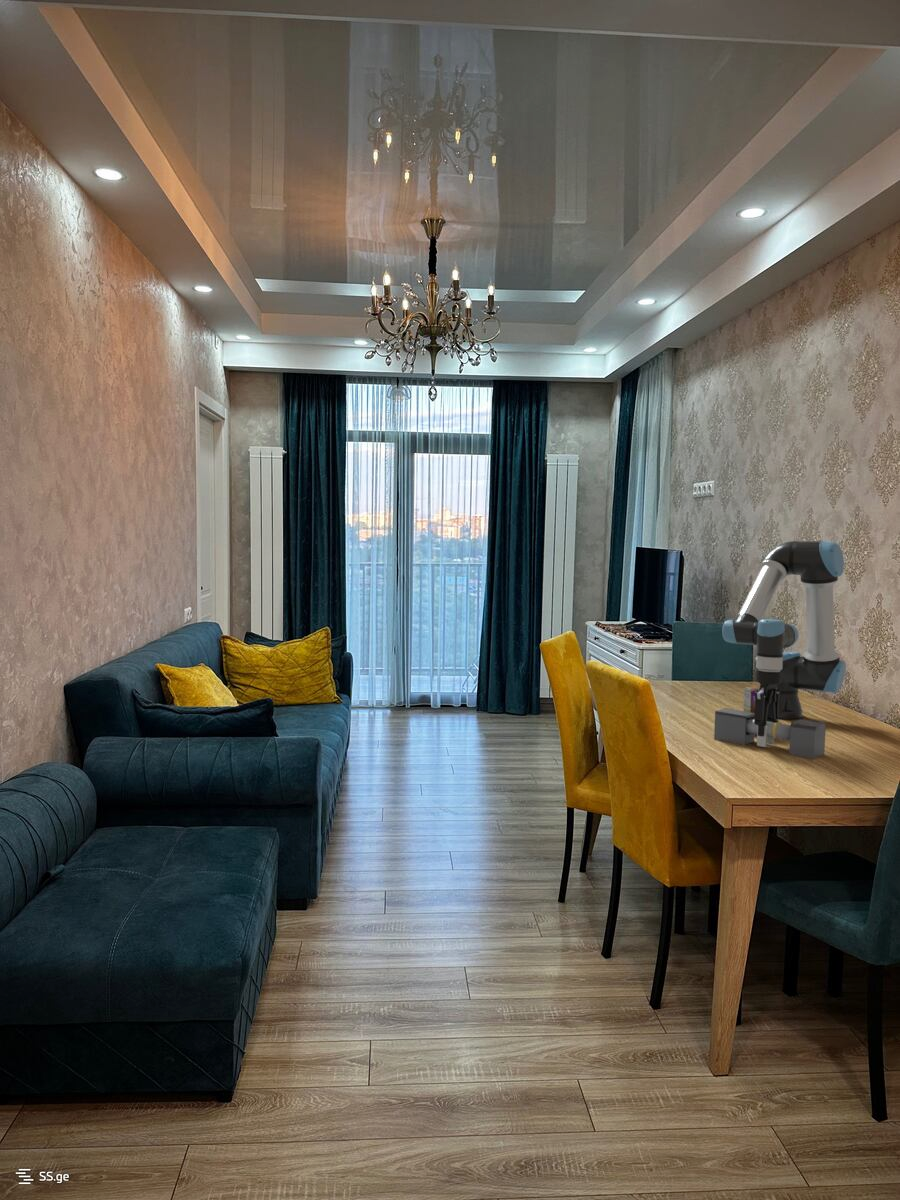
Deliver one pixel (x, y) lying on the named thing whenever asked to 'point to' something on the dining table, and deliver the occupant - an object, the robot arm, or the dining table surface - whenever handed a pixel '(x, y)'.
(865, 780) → the dining table surface
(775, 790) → the dining table surface
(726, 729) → the sleeve
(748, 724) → the tube
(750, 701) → the candy box
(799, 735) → the socket
